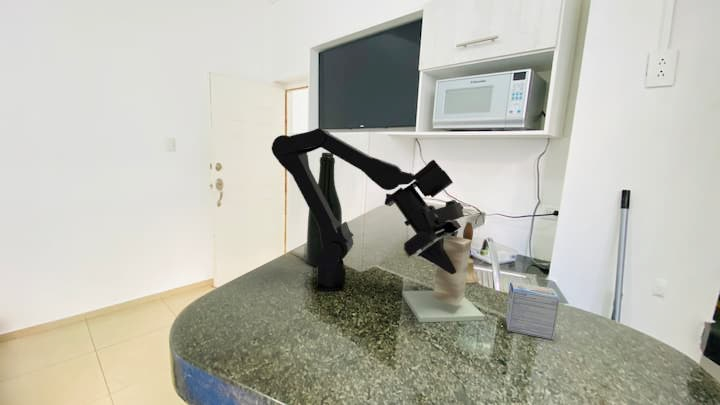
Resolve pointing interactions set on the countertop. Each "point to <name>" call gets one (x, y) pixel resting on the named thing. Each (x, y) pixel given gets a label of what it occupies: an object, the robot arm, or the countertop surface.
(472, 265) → the hand bell
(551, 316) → the medicine box
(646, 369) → the countertop surface
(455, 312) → the sage board
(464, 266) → the birch block
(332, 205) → the beer bottle
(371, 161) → the robot arm
